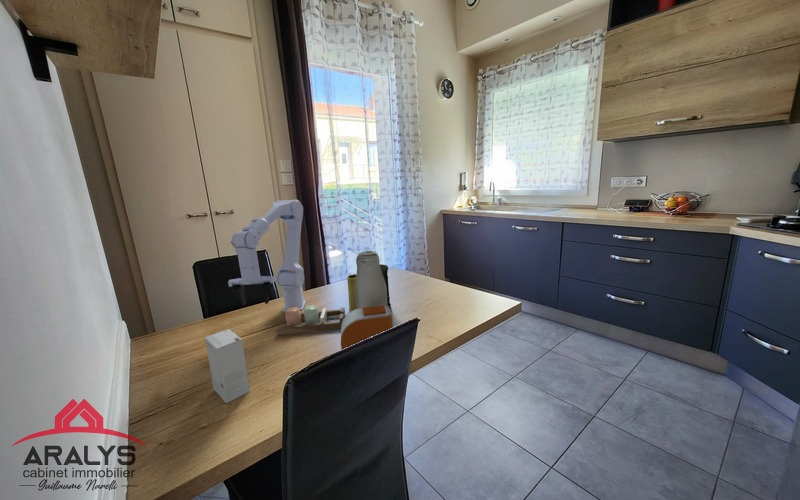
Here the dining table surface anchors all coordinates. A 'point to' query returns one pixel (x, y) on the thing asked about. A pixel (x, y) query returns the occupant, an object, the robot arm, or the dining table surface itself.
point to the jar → (293, 316)
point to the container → (386, 281)
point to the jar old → (311, 314)
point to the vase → (351, 292)
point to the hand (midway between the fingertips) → (255, 303)
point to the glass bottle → (369, 281)
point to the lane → (316, 326)
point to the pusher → (324, 316)
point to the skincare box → (227, 365)
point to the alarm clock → (364, 324)
